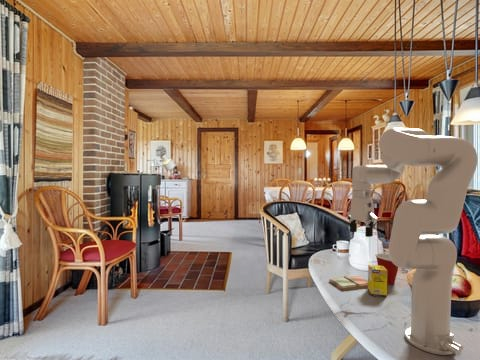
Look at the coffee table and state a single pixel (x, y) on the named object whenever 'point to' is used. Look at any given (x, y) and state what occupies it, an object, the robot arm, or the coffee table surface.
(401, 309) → the coffee table surface
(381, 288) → the supplement box
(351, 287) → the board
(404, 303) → the coffee table surface
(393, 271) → the plastic cup
